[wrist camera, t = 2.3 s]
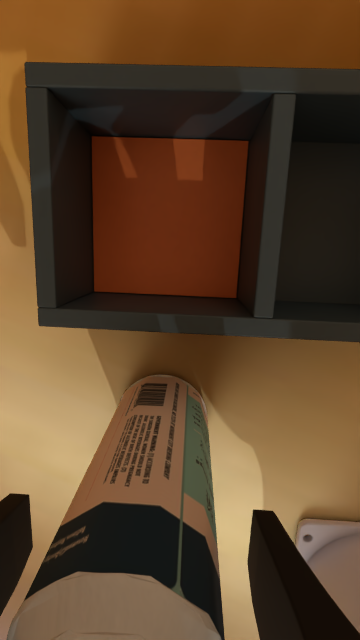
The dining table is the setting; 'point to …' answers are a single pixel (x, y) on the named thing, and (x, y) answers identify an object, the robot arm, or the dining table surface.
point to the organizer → (196, 198)
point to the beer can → (136, 531)
